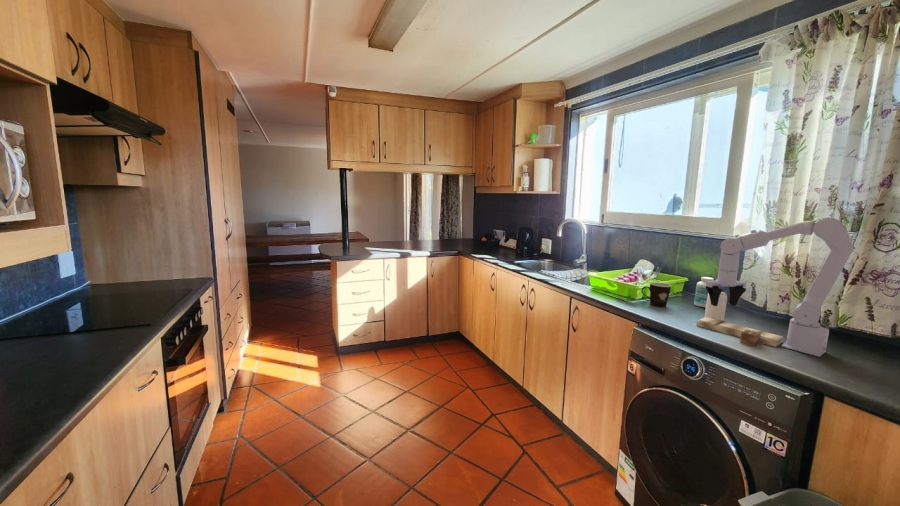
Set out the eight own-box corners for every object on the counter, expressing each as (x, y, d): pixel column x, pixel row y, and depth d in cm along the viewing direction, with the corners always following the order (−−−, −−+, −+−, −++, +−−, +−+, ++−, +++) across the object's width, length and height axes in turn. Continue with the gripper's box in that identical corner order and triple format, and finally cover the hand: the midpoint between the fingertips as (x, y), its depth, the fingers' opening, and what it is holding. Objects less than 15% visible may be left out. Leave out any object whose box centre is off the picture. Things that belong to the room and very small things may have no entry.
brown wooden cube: (759, 344, 125) (761, 332, 124) (754, 347, 122) (756, 335, 122) (745, 340, 128) (746, 329, 128) (739, 343, 126) (741, 331, 125)
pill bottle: (690, 304, 171) (693, 276, 169) (701, 303, 173) (705, 275, 171) (705, 309, 164) (709, 280, 162) (717, 307, 166) (721, 279, 164)
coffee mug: (669, 304, 169) (671, 284, 167) (668, 309, 162) (671, 287, 160) (641, 300, 175) (643, 280, 174) (639, 304, 168) (641, 284, 166)
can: (726, 323, 145) (731, 294, 143) (708, 321, 146) (713, 293, 145) (718, 318, 151) (722, 290, 150) (701, 316, 153) (705, 289, 151)
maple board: (782, 342, 127) (783, 336, 127) (775, 347, 123) (776, 340, 122) (705, 321, 146) (705, 316, 146) (696, 325, 142) (697, 320, 142)
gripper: (736, 267, 139) (731, 302, 141) (701, 268, 138) (697, 302, 140) (753, 271, 132) (748, 307, 134) (716, 271, 131) (712, 307, 133)
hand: (723, 305), depth 136 cm, fingers open, 7 cm apart
